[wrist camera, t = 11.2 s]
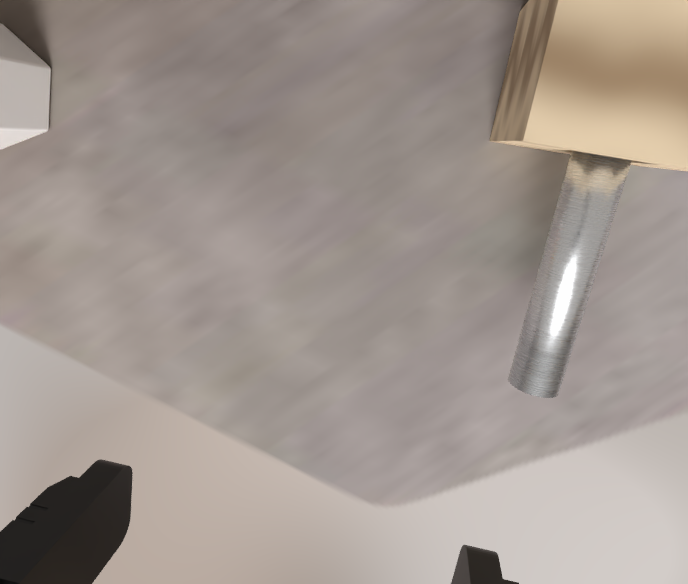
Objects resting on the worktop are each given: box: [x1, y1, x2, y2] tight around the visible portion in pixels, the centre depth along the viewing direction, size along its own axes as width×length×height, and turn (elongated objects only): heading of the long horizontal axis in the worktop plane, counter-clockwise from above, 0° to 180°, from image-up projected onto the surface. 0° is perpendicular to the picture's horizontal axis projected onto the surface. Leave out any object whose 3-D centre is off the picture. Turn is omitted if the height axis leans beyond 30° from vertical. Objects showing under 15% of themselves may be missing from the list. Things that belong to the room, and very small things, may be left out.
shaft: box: [508, 150, 632, 398], centre depth 29 cm, size 19×3×3 cm, turn 171°
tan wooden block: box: [490, 0, 688, 171], centre depth 28 cm, size 8×10×12 cm
